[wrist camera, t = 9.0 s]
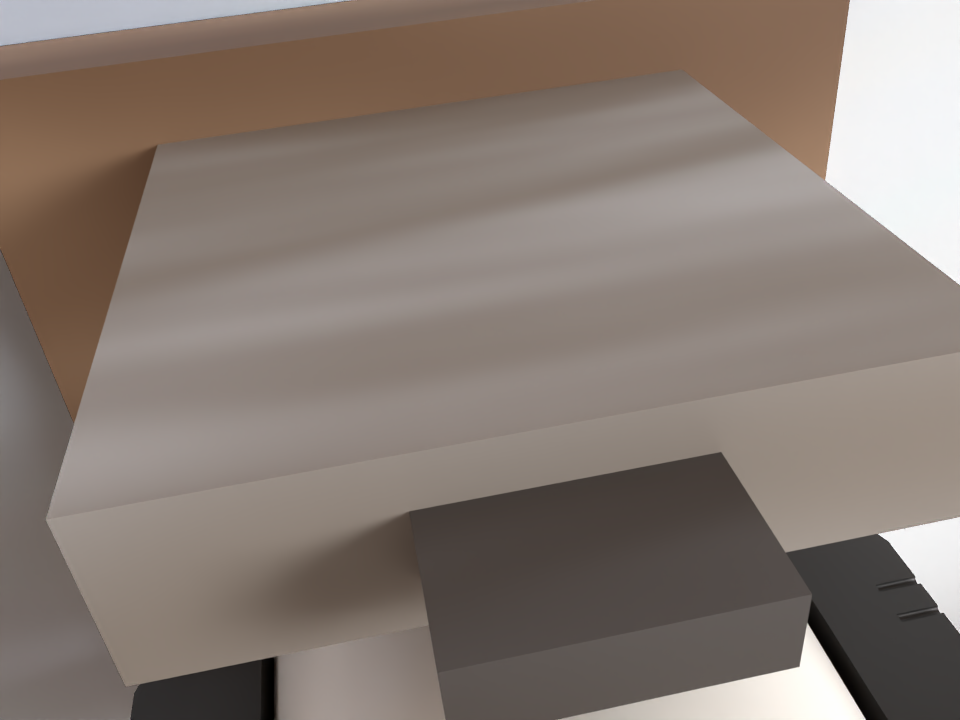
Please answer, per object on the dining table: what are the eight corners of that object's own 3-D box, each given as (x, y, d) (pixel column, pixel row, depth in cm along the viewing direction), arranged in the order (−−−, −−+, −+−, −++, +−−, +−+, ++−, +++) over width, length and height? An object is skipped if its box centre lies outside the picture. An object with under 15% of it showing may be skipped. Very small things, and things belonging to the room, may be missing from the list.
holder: (-28, 50, 11) (-657, 664, 3) (793, -58, 12) (1614, 245, 4) (222, 695, 17) (185, 1355, 10) (728, 590, 18) (1015, 1122, 11)
